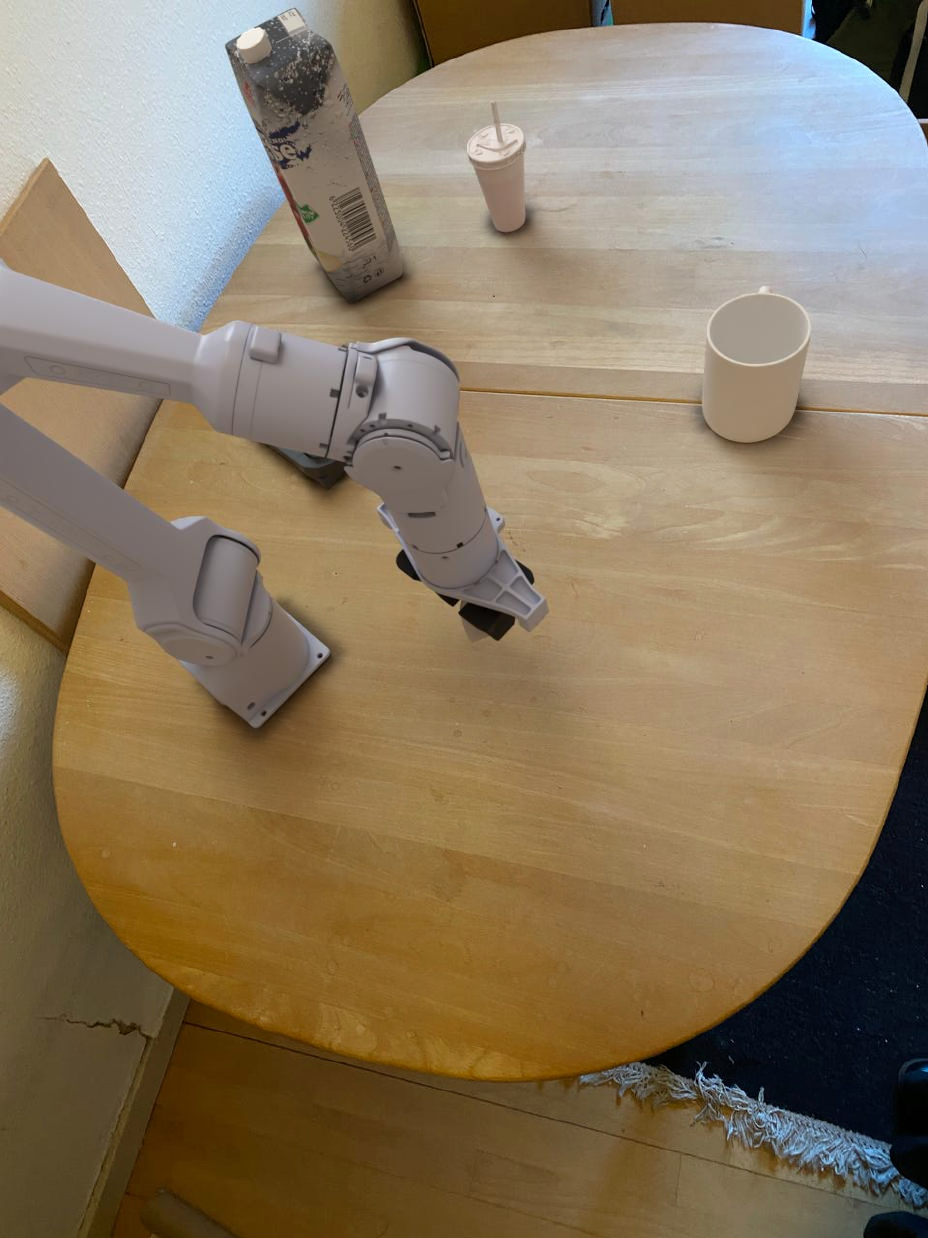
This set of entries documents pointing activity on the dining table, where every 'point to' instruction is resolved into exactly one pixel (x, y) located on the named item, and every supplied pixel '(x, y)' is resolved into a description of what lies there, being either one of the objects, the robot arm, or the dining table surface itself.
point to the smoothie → (500, 171)
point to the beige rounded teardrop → (472, 629)
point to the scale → (315, 464)
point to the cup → (754, 365)
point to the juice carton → (317, 150)
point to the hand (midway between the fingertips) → (481, 613)
